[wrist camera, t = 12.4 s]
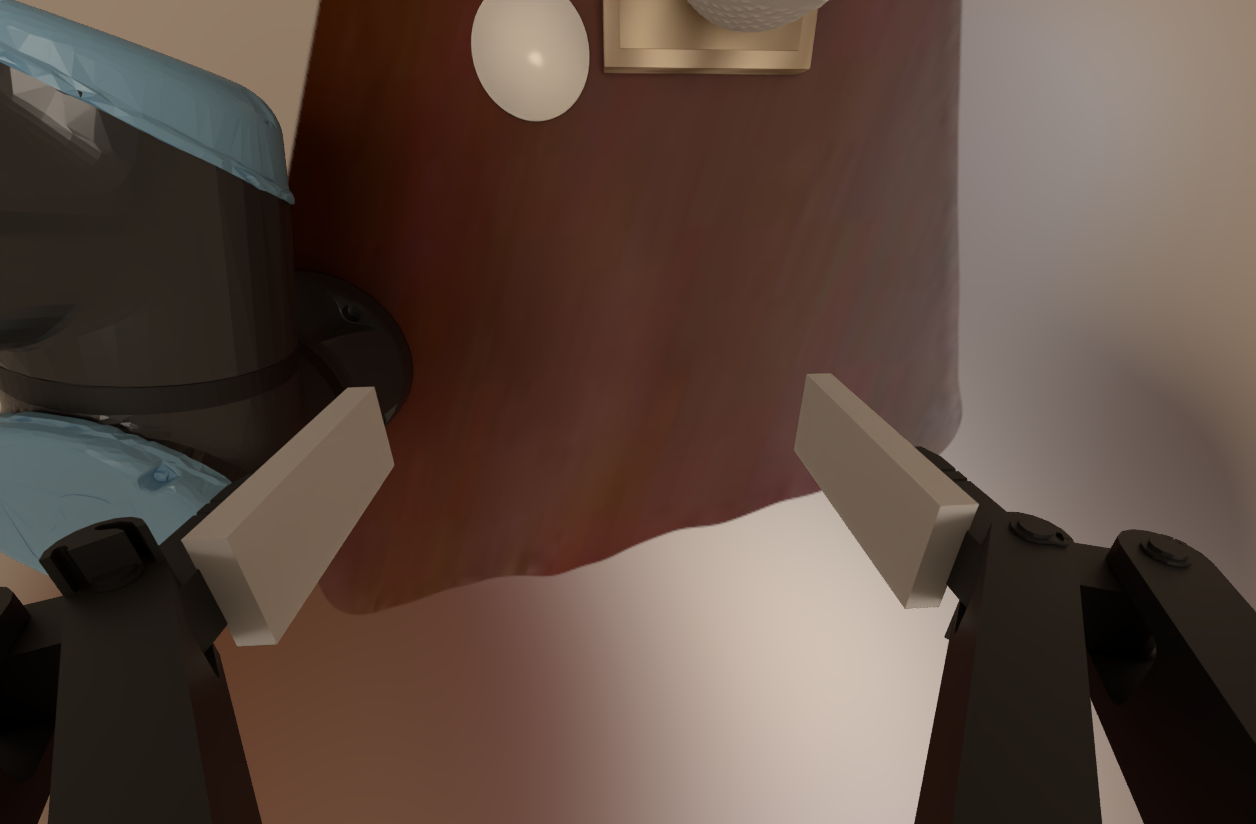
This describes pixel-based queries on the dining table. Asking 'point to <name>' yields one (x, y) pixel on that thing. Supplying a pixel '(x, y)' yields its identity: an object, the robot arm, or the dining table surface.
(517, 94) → the white oval dome
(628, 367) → the dining table surface
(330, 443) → the robot arm
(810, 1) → the mug
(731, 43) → the base
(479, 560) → the dining table surface
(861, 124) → the dining table surface
